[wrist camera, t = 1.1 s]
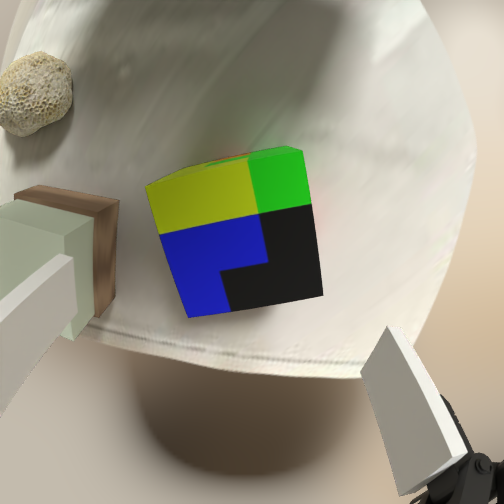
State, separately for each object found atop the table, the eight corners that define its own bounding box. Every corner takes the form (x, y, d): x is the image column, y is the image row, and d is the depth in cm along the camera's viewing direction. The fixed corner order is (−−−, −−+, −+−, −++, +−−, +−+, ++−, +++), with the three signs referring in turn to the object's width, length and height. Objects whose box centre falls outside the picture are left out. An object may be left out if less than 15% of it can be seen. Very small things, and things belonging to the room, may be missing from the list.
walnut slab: (40, 184, 27) (13, 193, 23) (120, 199, 28) (97, 212, 23) (43, 271, 32) (22, 288, 27) (116, 295, 32) (98, 318, 28)
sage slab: (17, 198, 23) (-14, 212, 18) (94, 217, 24) (64, 236, 19) (24, 286, 27) (0, 306, 22) (94, 313, 28) (73, 341, 23)
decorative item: (63, 17, 16) (38, 88, 16) (92, 61, 25) (81, 128, 24) (-15, 61, 15) (-40, 134, 15) (19, 92, 24) (5, 157, 24)
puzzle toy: (208, 262, 30) (188, 317, 21) (182, 168, 27) (144, 186, 17) (303, 244, 29) (323, 295, 20) (286, 145, 26) (302, 150, 16)
